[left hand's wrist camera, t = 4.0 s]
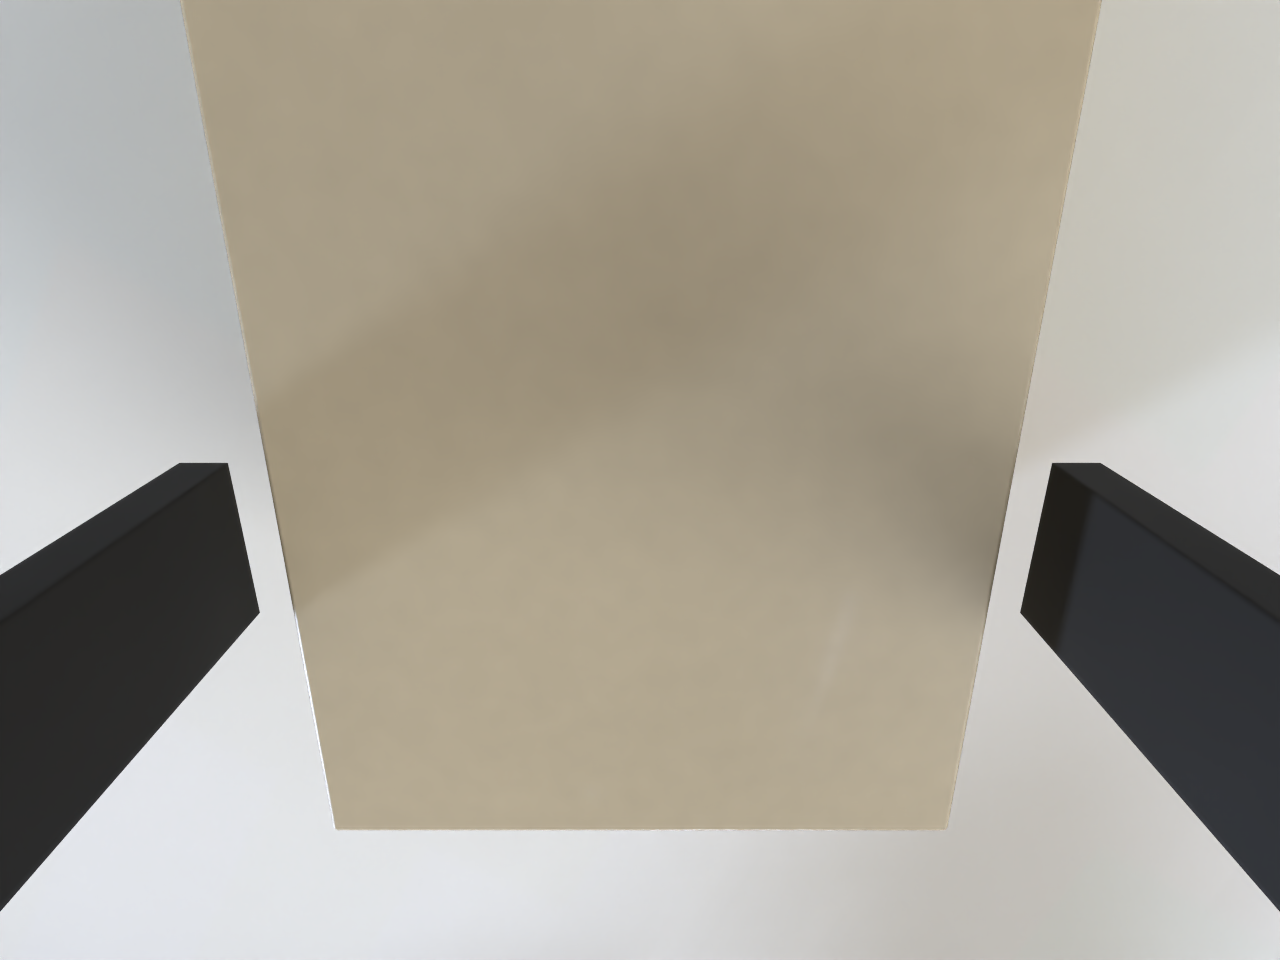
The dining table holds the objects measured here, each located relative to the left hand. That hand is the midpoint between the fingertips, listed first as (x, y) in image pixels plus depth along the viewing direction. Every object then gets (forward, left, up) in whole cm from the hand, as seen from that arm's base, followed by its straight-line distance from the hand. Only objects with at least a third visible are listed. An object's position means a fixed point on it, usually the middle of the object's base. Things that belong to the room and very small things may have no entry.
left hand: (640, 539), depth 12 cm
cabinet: (+3, -3, -8) cm, 9 cm away
